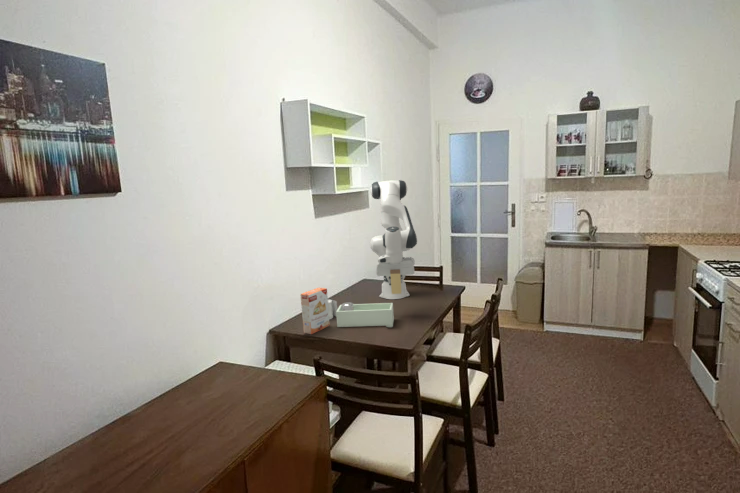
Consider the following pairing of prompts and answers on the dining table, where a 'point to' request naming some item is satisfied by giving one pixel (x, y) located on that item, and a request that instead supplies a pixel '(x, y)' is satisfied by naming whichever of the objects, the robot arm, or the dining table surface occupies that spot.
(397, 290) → the oat carton
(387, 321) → the tote
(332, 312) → the toilet tissue
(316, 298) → the cracker box
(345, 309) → the tin can
